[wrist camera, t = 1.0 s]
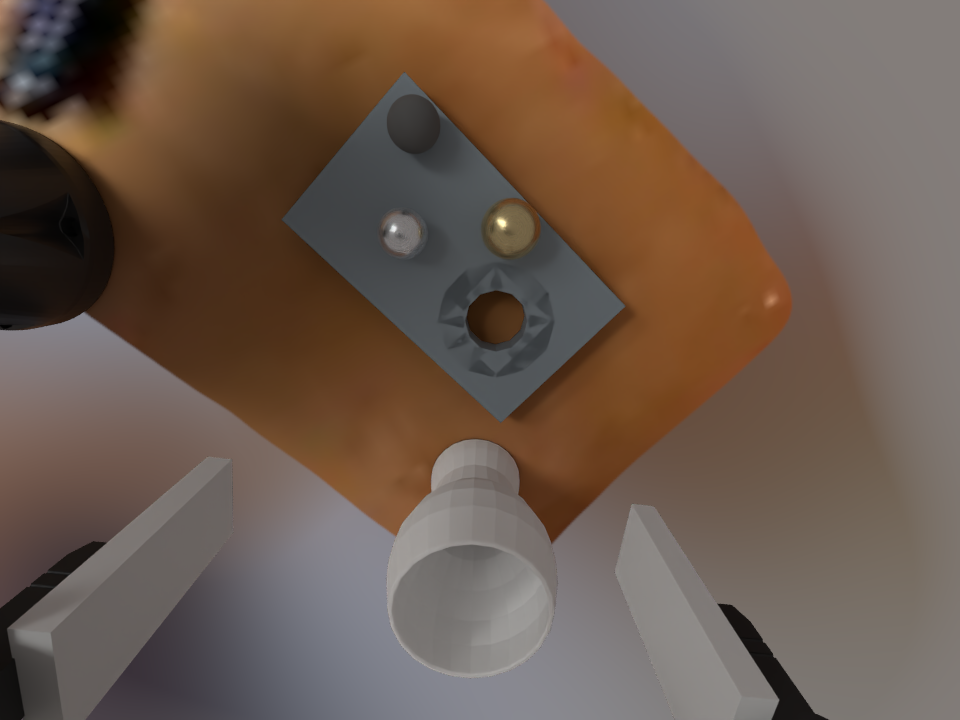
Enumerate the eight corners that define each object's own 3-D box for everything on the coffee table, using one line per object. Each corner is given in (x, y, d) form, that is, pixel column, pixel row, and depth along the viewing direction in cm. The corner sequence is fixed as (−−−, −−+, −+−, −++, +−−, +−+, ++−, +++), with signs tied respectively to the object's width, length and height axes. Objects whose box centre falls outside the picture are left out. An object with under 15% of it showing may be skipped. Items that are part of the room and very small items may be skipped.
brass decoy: (469, 230, 33) (467, 229, 29) (509, 187, 32) (512, 180, 28) (508, 270, 34) (512, 274, 30) (548, 229, 33) (557, 228, 29)
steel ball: (373, 234, 33) (360, 234, 30) (405, 198, 32) (396, 194, 29) (408, 268, 34) (400, 271, 30) (440, 233, 33) (435, 233, 30)
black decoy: (381, 131, 31) (370, 118, 28) (415, 90, 31) (407, 73, 27) (418, 168, 32) (411, 161, 29) (453, 130, 31) (449, 117, 28)
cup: (520, 410, 39) (542, 513, 25) (547, 517, 42) (580, 667, 27) (400, 438, 40) (352, 554, 25) (433, 542, 43) (407, 700, 28)
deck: (295, 220, 35) (281, 219, 33) (410, 83, 33) (404, 71, 30) (499, 411, 39) (500, 422, 37) (616, 301, 37) (625, 306, 34)
